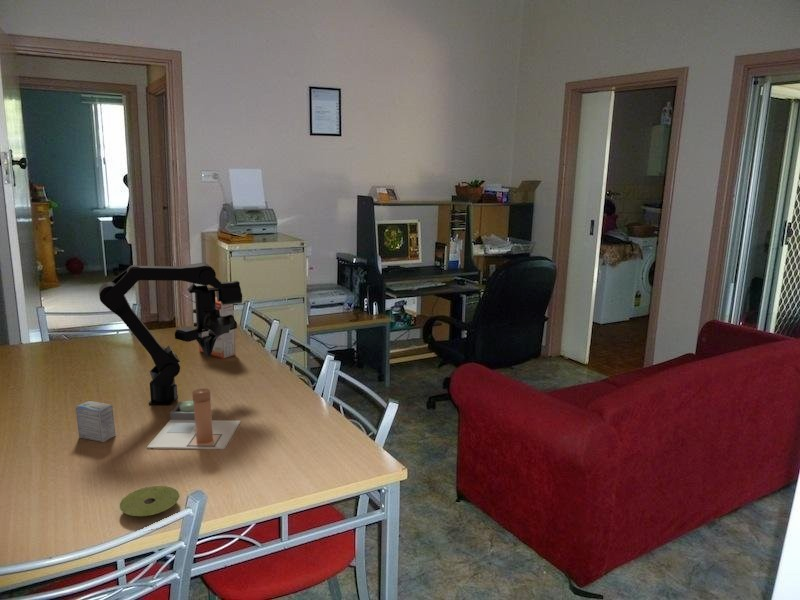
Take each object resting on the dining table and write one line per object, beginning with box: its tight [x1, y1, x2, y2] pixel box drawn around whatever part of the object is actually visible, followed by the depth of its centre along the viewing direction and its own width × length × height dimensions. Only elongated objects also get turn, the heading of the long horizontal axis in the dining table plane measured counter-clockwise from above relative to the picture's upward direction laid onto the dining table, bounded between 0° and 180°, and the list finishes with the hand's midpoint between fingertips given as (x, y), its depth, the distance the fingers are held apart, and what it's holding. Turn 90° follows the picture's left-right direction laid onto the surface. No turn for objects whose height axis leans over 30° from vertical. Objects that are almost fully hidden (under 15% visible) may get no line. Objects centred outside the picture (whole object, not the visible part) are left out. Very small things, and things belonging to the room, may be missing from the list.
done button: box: [180, 400, 194, 412], centre depth 167 cm, size 5×5×3 cm
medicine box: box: [75, 400, 117, 443], centre depth 152 cm, size 8×4×9 cm, turn 71°
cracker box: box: [198, 296, 236, 360], centre depth 218 cm, size 14×6×21 cm, turn 55°
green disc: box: [119, 485, 180, 517], centre depth 122 cm, size 11×11×2 cm
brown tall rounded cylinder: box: [191, 388, 213, 443], centre depth 150 cm, size 4×4×13 cm
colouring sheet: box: [146, 419, 241, 450], centre depth 155 cm, size 19×16×1 cm
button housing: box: [169, 401, 195, 421], centre depth 167 cm, size 8×8×2 cm
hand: (208, 356), depth 180 cm, fingers closed
